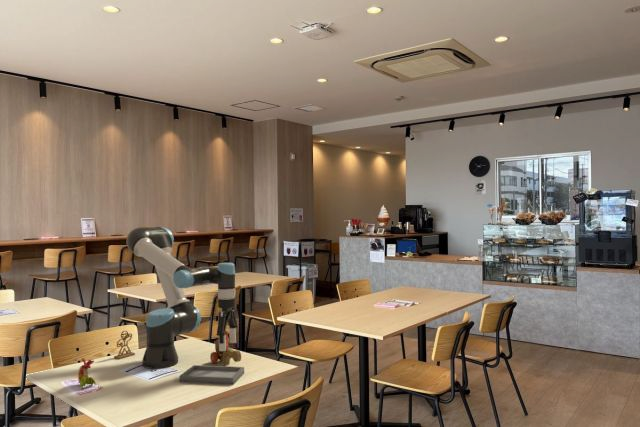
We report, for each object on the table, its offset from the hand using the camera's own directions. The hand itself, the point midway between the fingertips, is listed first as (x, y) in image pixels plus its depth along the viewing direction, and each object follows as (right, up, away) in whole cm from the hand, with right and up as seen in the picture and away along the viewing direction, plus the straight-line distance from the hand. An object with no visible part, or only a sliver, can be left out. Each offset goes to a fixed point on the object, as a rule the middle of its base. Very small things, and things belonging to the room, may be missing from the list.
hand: (227, 346), depth 213 cm
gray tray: (-3, -8, -17) cm, 19 cm away
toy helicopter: (0, -8, 0) cm, 8 cm away
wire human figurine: (-51, -9, +14) cm, 53 cm away
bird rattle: (-51, -8, -26) cm, 57 cm away
